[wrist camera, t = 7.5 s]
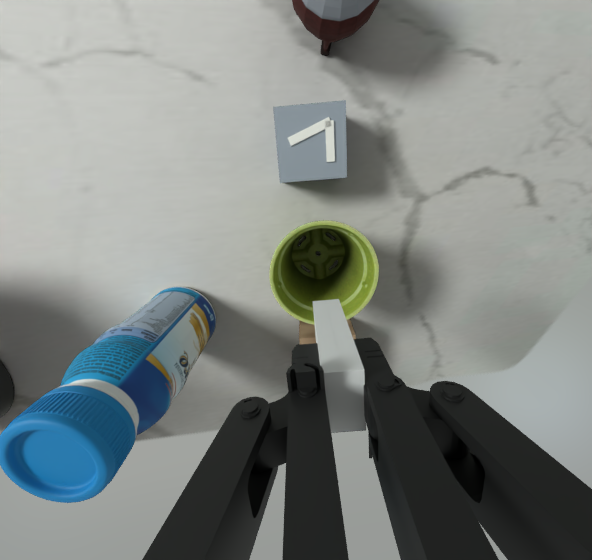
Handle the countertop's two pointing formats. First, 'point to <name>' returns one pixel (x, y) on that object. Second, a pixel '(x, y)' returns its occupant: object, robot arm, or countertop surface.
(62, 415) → the beverage bottle
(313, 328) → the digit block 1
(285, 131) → the digit block 7
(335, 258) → the plant pot
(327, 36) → the mate gourd
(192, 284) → the countertop surface
